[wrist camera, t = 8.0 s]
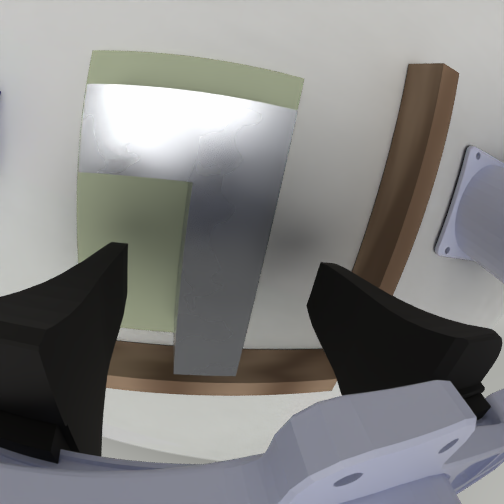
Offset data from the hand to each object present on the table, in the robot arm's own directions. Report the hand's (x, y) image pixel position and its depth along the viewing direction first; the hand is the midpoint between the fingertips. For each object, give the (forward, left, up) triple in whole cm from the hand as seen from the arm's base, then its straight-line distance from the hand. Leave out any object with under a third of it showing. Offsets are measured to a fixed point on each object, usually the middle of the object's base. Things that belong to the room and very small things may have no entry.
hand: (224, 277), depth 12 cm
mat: (+2, 0, -5) cm, 6 cm away
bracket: (+2, 0, -5) cm, 5 cm away
